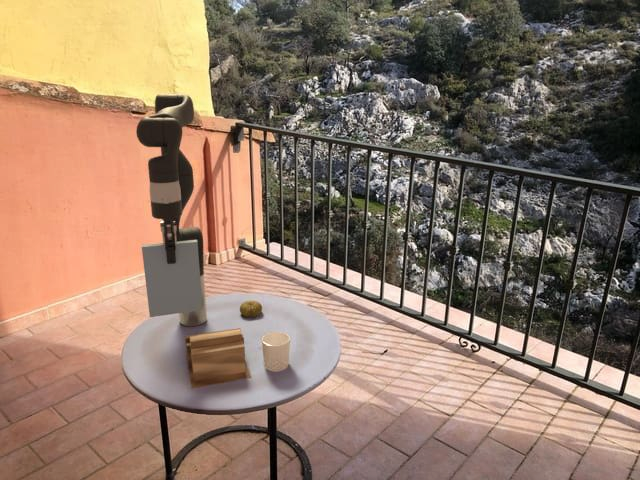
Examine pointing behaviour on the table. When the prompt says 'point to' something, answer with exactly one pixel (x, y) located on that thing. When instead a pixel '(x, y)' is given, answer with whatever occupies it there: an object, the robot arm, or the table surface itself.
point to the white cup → (276, 351)
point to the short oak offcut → (218, 360)
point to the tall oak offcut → (215, 339)
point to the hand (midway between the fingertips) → (171, 261)
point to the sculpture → (249, 304)
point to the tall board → (172, 278)
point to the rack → (215, 379)
